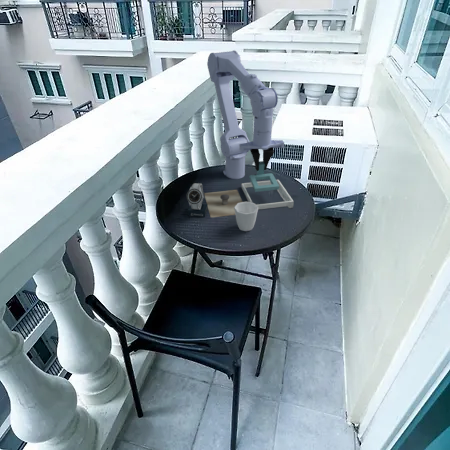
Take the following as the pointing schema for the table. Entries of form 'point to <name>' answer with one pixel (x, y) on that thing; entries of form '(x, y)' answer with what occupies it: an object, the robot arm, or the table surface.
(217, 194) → the board
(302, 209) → the table surface
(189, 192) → the watch
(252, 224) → the cup
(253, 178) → the teal frame with handle
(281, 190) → the tray
